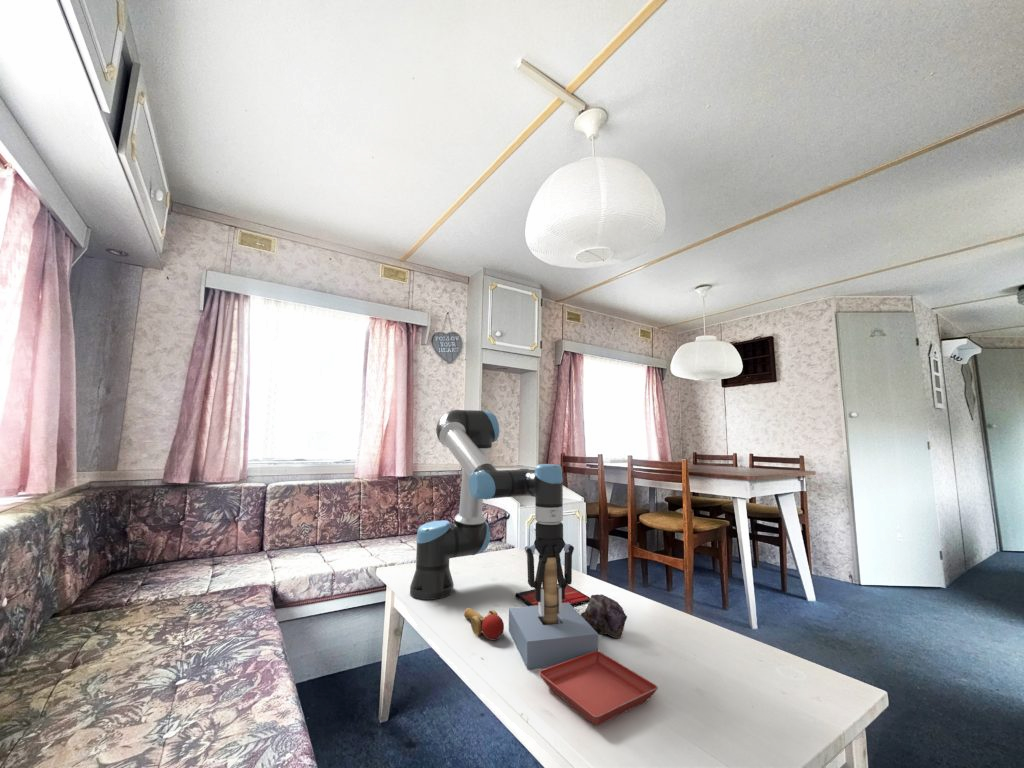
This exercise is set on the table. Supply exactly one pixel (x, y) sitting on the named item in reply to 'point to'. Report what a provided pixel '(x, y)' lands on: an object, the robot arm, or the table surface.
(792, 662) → the table surface
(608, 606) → the rock
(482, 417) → the robot arm
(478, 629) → the kendama
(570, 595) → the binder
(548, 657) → the board
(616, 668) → the plant saucer
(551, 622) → the peg
